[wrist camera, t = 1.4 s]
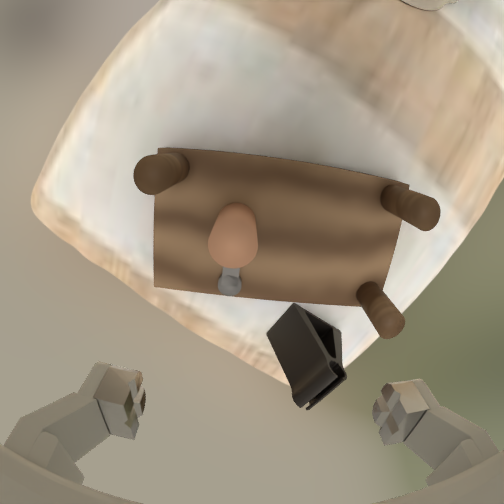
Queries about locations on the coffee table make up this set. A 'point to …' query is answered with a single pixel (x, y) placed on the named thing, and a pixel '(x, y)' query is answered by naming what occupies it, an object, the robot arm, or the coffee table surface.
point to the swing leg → (233, 244)
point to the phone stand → (308, 355)
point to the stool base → (282, 227)
